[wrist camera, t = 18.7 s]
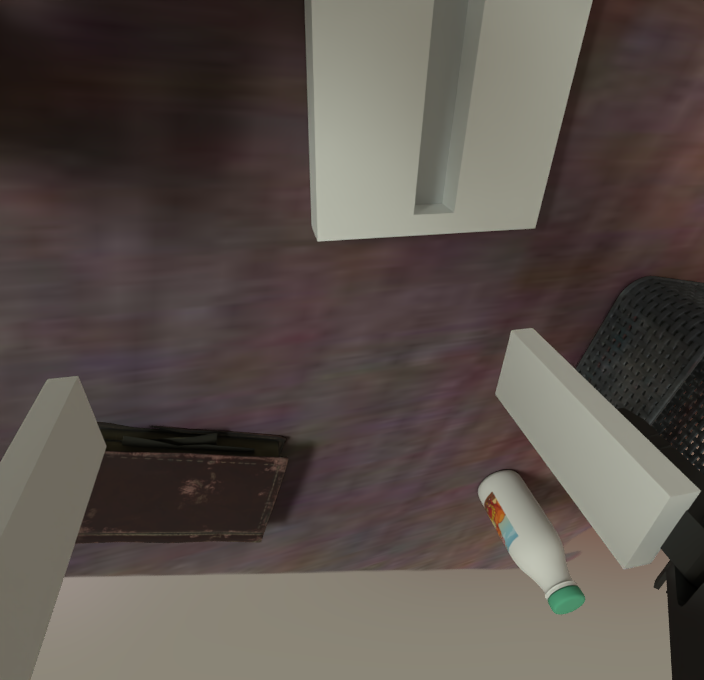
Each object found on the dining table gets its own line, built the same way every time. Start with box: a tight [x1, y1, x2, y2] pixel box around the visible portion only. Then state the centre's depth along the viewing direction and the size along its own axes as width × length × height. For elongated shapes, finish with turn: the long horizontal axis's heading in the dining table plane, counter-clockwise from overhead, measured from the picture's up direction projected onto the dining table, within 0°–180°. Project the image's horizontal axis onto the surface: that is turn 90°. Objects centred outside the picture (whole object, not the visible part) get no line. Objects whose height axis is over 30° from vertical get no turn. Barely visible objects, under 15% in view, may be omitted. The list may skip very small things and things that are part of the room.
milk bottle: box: [478, 470, 585, 614], centre depth 67 cm, size 8×8×20 cm
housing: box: [304, 0, 593, 241], centre depth 37 cm, size 22×28×4 cm
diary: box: [75, 422, 289, 544], centre depth 57 cm, size 19×25×5 cm
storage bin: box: [575, 276, 704, 475], centre depth 60 cm, size 29×19×13 cm
